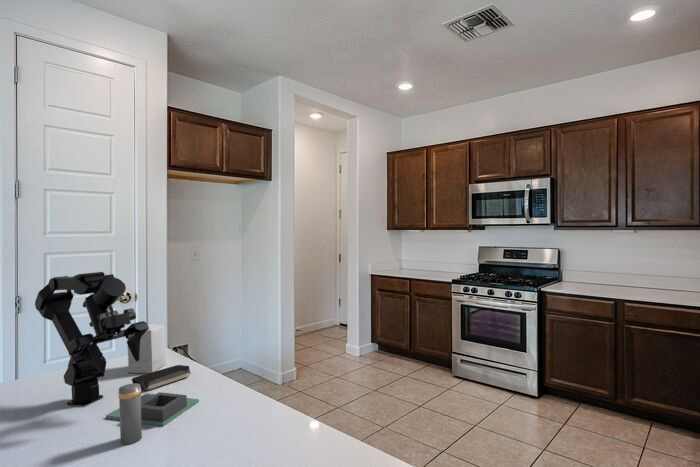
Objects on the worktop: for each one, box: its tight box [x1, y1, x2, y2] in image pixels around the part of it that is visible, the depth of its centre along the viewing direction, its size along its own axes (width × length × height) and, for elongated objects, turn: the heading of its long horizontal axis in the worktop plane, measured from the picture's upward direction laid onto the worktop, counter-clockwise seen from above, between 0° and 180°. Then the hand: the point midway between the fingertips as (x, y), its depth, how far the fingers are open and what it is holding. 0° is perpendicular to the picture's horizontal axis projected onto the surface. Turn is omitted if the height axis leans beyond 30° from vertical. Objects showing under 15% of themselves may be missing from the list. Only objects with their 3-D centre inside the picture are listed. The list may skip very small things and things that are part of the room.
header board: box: [105, 391, 200, 427], centre depth 108 cm, size 18×14×4 cm
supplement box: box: [126, 323, 167, 374], centre depth 140 cm, size 9×9×15 cm
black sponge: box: [130, 364, 191, 391], centre depth 128 cm, size 16×8×4 cm, turn 142°
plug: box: [118, 382, 143, 446], centre depth 93 cm, size 5×5×12 cm
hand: (121, 366), depth 104 cm, fingers open, 9 cm apart
